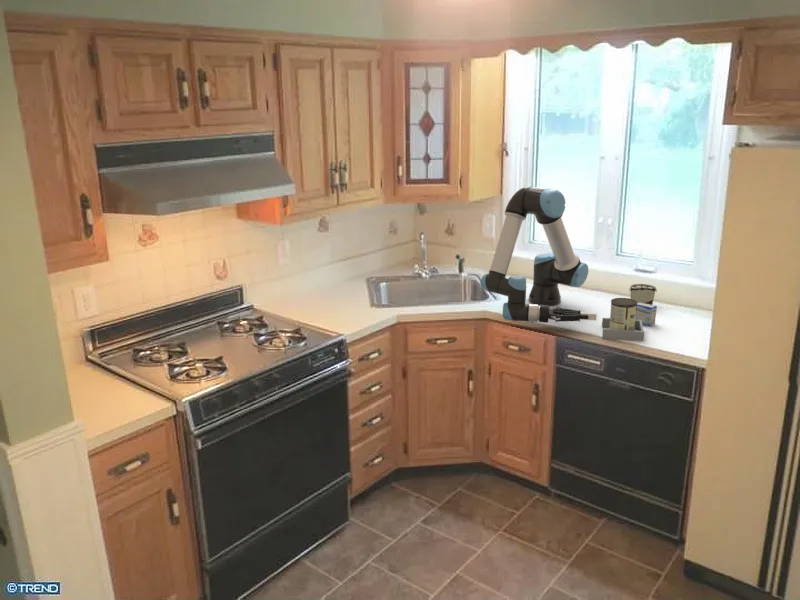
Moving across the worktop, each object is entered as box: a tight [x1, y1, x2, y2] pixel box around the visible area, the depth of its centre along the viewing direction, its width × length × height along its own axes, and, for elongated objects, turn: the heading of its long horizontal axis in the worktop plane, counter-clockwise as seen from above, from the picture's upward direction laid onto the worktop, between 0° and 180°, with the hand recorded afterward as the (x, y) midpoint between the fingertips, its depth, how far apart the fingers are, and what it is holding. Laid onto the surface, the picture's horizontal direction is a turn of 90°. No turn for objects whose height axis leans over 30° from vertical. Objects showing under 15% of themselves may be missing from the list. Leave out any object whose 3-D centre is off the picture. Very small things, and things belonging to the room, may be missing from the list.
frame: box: [601, 317, 645, 342], centre depth 285 cm, size 16×15×4 cm
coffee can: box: [608, 297, 637, 331], centre depth 284 cm, size 10×10×14 cm
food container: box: [628, 283, 658, 305], centre depth 320 cm, size 12×6×10 cm, turn 84°
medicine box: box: [635, 302, 657, 327], centre depth 296 cm, size 8×4×9 cm, turn 45°
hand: (596, 316), depth 287 cm, fingers closed
